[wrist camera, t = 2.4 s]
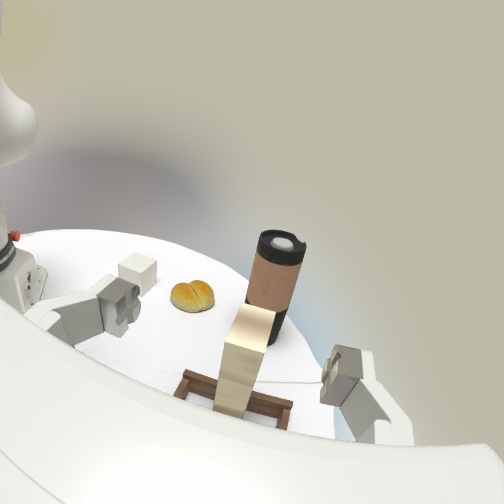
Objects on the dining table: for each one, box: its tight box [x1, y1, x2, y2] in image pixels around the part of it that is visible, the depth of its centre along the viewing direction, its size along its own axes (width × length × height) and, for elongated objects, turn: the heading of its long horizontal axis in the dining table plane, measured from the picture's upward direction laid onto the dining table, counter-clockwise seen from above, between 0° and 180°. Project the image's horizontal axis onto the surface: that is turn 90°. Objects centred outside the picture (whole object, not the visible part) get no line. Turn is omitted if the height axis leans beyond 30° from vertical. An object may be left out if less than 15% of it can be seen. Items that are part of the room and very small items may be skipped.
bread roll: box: [171, 280, 215, 312], centre depth 58 cm, size 8×9×4 cm
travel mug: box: [245, 230, 306, 346], centre depth 49 cm, size 8×8×20 cm
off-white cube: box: [118, 252, 157, 297], centre depth 58 cm, size 6×6×6 cm
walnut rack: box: [173, 369, 293, 431], centre depth 29 cm, size 21×16×4 cm
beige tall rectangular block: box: [213, 303, 276, 419], centre depth 31 cm, size 6×4×20 cm, turn 166°
